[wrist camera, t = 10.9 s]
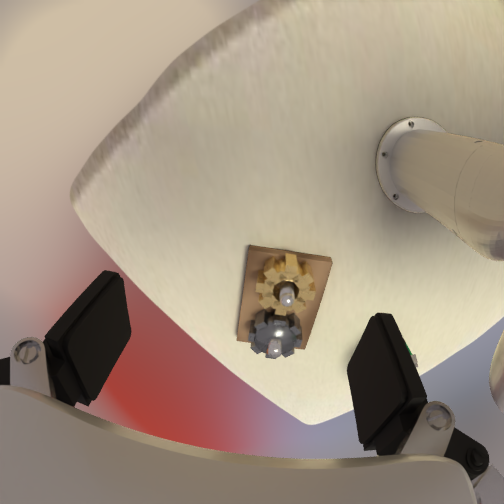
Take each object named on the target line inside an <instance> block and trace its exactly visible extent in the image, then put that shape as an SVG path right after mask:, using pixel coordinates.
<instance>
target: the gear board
mask: <svg viewBox="0 0 504 504" xmlns="http://www.w3.org/2000/svg"><path fill="white" fill-rule="evenodd" d="M285 253H288V254H294V255H296V257H297V261H298V262H299V263H300V264H301V263H303V262H305V261H307V263H308V264H309V265H310V267H311V268H312V272H313V277H314V283H315V288H316V294H315V297H314V300H306V309H305V310H303V311H301V312H299V313H298V314H297V313H296V312H295V311H294V309H293V310H291V311H287V312H286V314H288V315H290V314H292V313H295V314H296V315H297V316H298V318H299V319H300V326H302V339H303V340H302V343H301V346H300V348H298V347H294V348H295V349H305V348H306V345H307V342H308V339H309V336H310V333H311V330H312V327H313V324H314V321H315V318H316V315H317V312H318V309H319V306H320V303H321V300H322V297H323V293H324V290H325V287H326V283H327V280H328V277H329V273H330V270H331V266H332V260H331V257H324V256H318V255H312V254H305V253H299V252H292V251H286V250H279V249H272V248H266V247H259V246H253V245H250V247H249V252H248V259H247V267H246V274H245V281H244V289H243V296H242V304H241V311H240V319H239V326H238V334H237V341H242V342H249V343H251V341H248V336H249V329H250V323H251V320H255V317H256V313H257V312H259V311H261V310H263V309H264V308H263V307H262V305H261V304H260V303H259V302H258V301H259V293H258V292H255V291H256V284H257V277H258V271H259V270H263V271H264V264H265V261H266V260H267V259H269V258H270V257H272V256H274V257H275V258H276V259H277V260H279V259H284V258H285ZM293 283H294V282H293ZM294 285H296V284H295V283H294ZM276 286H277V287H278V288H280V282H279V283H278V284H276ZM266 310H267V311H268V312H274V309H273V308H272V307H271V306H270V307H268V308H266Z"/></svg>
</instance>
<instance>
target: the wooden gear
mask: <svg viewBox="0 0 504 504" xmlns="http://www.w3.org/2000/svg"><path fill="white" fill-rule="evenodd" d="M283 280H284V281H291V282H294V283H295V284H296V285H294V296H295V301H294V303H293V304H292V305H291V306H288V307H286V306H283V305H282V304H281V303H280V288H278V287H277V286H276V284H278V283H279V282H281V281H283ZM255 292H258V293H259V301H258V302H259V303H260V304H261V305H262V307H263V308H264V309H266V308H268V307H270V306H271V307H272V308H273V309H275V314H277V315H284V316H286V312H287V311H291V310H293V309H294V311H295V312H296V313H297V314H298V313H299V312H301V311H303V310H305V309H306V300H314V297H315V294H316V288H315V283H314V277H313V272H312V268H311V267H310V265H309V264H308V263H307V261H305V262H303V263H301V264H300V263H299V262H298V261H297V257H296V255H294V254H288V253H285V258H284V259H279V260H277V259H276V258H275V257H274V256H272V257H270V258H269V259H267V260H266V261H265V264H264V271H263V270H259V271H258V277H257V284H256V291H255Z"/></svg>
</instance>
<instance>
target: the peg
mask: <svg viewBox="0 0 504 504" xmlns="http://www.w3.org/2000/svg"><path fill="white" fill-rule="evenodd" d="M294 301H295V296H294V283H293V282H291V281H284V280H283V281H281V282H280V303H281V304H282V305H283V306H286V307H288V306H291V305H292V304H293V303H294Z"/></svg>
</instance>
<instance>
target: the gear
mask: <svg viewBox="0 0 504 504" xmlns="http://www.w3.org/2000/svg"><path fill="white" fill-rule="evenodd" d="M302 340H303V339H302V326H300V319H299V318H298V316H297V315H296V314H295V313H292V314H290V315H288V314H286V316H284V315H277V314H275V309H274V312H268V311H267V310H266V309H263V310H261V311H259V312H257V313H256V317H255V320H251V323H250V329H249V336H248V341H251V349H252V350H253V351H254V352H255V353H257V354H258V353H261V352H263V353H266V356H265V358H272V359H276V358H277V357H279V356H280V355H281V354H282V355H283V356H284V357H285V358H286V357H288V356H290V355H292V354H294V347H298V348H300V346H301V343H302Z"/></svg>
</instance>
